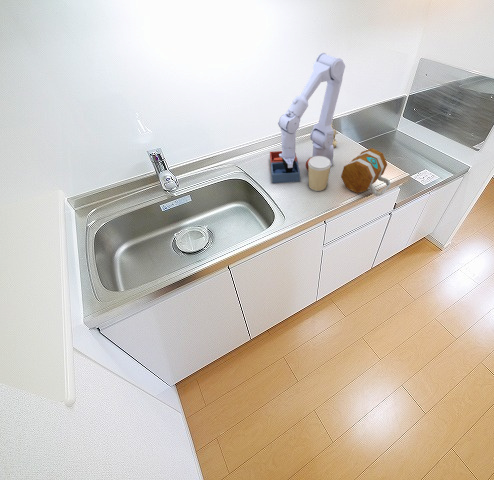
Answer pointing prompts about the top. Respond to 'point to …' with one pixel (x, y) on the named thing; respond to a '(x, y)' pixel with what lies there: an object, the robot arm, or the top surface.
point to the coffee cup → (318, 172)
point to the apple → (307, 164)
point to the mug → (365, 172)
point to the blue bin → (284, 176)
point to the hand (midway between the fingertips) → (288, 172)
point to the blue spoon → (283, 171)
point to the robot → (334, 138)
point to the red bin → (277, 156)
